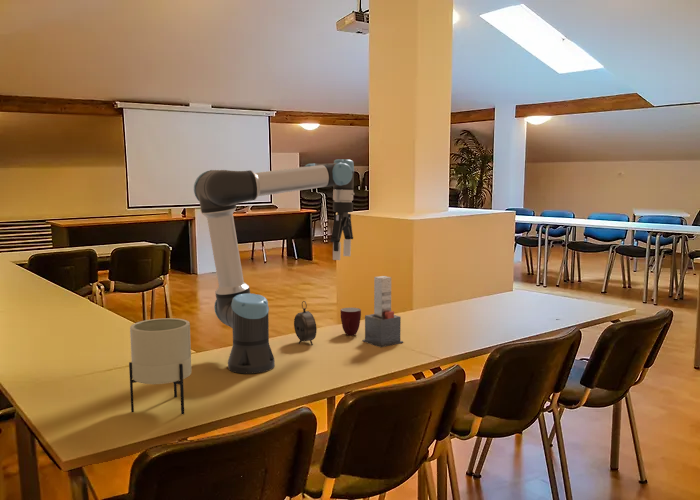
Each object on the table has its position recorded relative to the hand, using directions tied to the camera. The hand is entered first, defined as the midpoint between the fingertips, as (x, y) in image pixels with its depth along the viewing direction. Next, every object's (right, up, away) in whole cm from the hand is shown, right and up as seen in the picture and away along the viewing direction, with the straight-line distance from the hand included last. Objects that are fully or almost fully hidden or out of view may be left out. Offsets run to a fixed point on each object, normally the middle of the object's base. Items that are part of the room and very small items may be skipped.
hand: (341, 258), depth 230 cm
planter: (-48, -40, -64) cm, 89 cm away
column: (+15, -32, +1) cm, 35 cm away
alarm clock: (-14, -32, 0) cm, 35 cm away
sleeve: (+15, -32, +1) cm, 35 cm away
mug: (+3, -31, +11) cm, 33 cm away
